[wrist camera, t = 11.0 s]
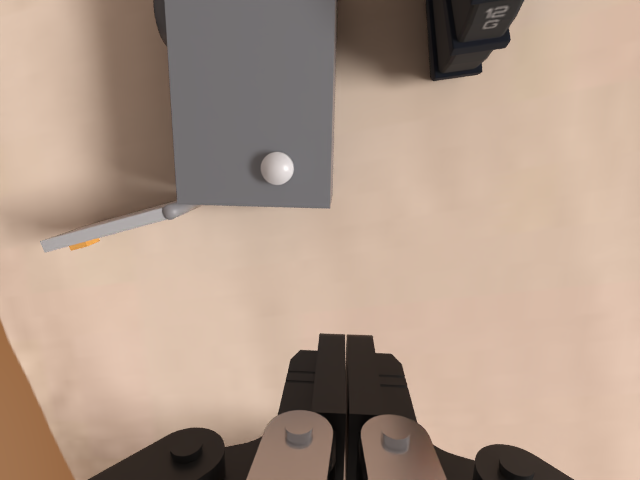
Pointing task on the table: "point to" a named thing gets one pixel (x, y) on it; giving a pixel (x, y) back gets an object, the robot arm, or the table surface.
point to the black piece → (466, 34)
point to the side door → (115, 226)
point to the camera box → (251, 100)
